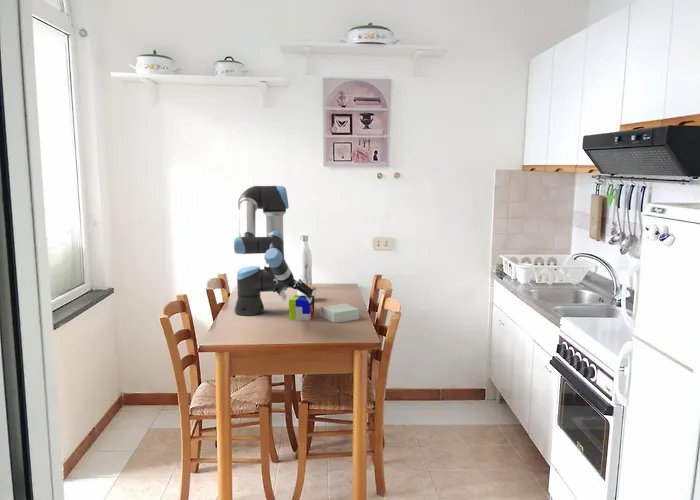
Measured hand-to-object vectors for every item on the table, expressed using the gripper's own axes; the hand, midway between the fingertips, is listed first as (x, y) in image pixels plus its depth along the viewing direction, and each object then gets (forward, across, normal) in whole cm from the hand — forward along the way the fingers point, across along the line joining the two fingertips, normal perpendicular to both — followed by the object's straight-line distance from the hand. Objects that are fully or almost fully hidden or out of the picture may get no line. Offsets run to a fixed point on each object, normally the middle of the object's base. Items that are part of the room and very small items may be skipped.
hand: (297, 299), depth 266 cm
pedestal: (+16, +17, +1) cm, 23 cm away
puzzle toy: (+12, -1, -3) cm, 12 cm away
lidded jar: (+36, -14, +21) cm, 44 cm away
